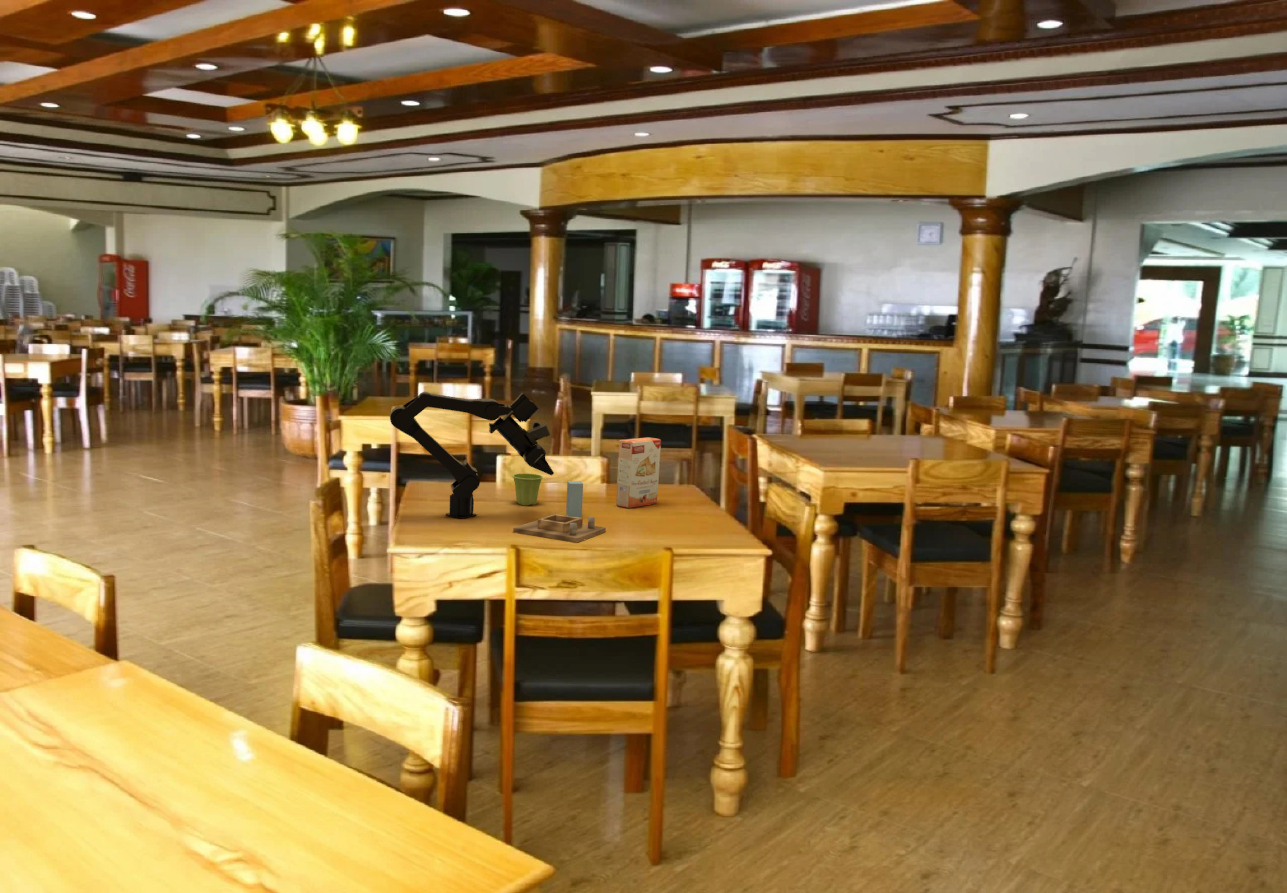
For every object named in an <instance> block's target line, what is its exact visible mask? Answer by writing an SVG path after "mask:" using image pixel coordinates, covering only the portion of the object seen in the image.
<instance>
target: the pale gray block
mask: <svg viewBox="0 0 1287 893" xmlns="http://www.w3.org/2000/svg"><path fill="white" fill-rule="evenodd" d="M566 482H567V483H566V506H565V508H566V509H565V511H566V512H565V514H566V515H565V516H571V517H577V518H583V499H584V498H583V497H584V495H583V494H584V483H583V482H582V481H581V480H567V481H566Z"/></svg>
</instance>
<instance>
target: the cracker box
mask: <svg viewBox="0 0 1287 893" xmlns="http://www.w3.org/2000/svg"><path fill="white" fill-rule="evenodd" d="M661 448H662V440H661V439H660V438H655V437H648V436H647V437H640V438H627V439H620V440H619V447H618V450H619V451H618V467H617V480H616V481H617V482H616V484H617V485H616V497H615V498H616V501H615V502H616V503H615V506H618V507H621V508H626V509H633V508H637V507H645V506H648V505H654V504H657V503H658V492H659V479H660V478H659V476H660V461H661V450H662V449H661Z"/></svg>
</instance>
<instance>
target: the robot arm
mask: <svg viewBox="0 0 1287 893" xmlns="http://www.w3.org/2000/svg"><path fill="white" fill-rule="evenodd" d="M427 408H433V409H434V408H435V409H441V410H446V411H452V412H453V411H454V412H459V413H467V414H470V415H472V416H475V417H478V418H481V419H482V420H487V421H490V422H489V423H488V426H489V427H488V428H489V429H488V432H489V433H490V434H492V435H493V433H494V432H495V431H497V433H499V434H500V435H501V437H502V438H504V440H505V441H506V442H508V444H509V445H510V446H511V447H512V448H513V449H514V450H515V451H516V453H518V454H519V455H520V457H521V458H523V461H524V462H525V464H527V465H528V466H529V467H530V468H533V469H536V470H537V471H540V472H543V473H545V474H547V475H549V476H553V475H554V474H555V472H554V471H553V468H552V467H551V465H550V464H549V462H548V461H547V459H546V455H547V452H546V450H545V449H544V448H543V447H542V446H541V445H540V444H538V442H537V441H539V440H541V439H543V438H545V437H549V436H551V433H550V430H549V428H548V426H547V424H546V423H539V422H538V421H536V422H533V423H532V425H531V428H530V429H529V430H526V429H525V428H523V427H522V426H521V425H520V424H519V423H521V422H524V423H527V422H528V421H529V420H530V419H531V418H532V417H533V416H534V415H535V414H536V413H537V412H538V411H539V410H540V408H539V407H538V406H537V404H535V403H534V401H532V400H531V399H530V398H528V397H527V396H526V394H524V393H523V392H522V393H520V394H519V395H518V397H517V398H515V399H514V401H513V402H512V403H511V404H507V403H506V404H504V403H499V402H498V401H497V400H495V399H493V398H472V399H471V398H470V399H469V398H468V399H467V398H464V397H463V398H462V397H455V396H450V395H444V394H443V395H442V394H437V393H430V392H428V391H422V392H420V393H419V394H418V395H417V396H416V397H414V398H412V399H410V400H409V401H408V402H406V403H405V404H403V405H397V406H395V407H394V408H392V409H391V411H390V414H389V420H390V423H391V425H392V426H393V428H396V429H397V430H398V431H400V432H402V433H404V434H405V435H407V436H409V437H410V438H413V439H414V440H415V441H416V442H417V443H418V444H419V445H420V446H421V447H423V449H424V450H426V452H428V453H429V454H430V455H431V457H434V459H435V460H437V462H438V463H440V464H441V465H442V466H443V467H444V468H445V469H446V470H447V471H448V472H449V473H450V474H451V476H452V477H453V478H454V479H455V481H454V482H452V483H451V484H450V488H451V491H452V493H451V494H450V495H449V512H447V513H446V512H445V516H447V517H452V518H456V519H459V520H460V519H468V518H472V517H476V516H477V515H478V514H477V513H474V505H475V504H474V503H475V502H474V500H475V499H474V492H475V491H476V490H477V489H478V488H479V487H480V483H481V479H480V477H479V474H478V471H477V468H476V467H473V466H472V465H471V464H470V463H469V461H467V459H464V461H463V462H462V461H460V460H458V459H457V458H455V457H454V456H453V455H452V454H451V453H450V452H449V451H448V450H447V449H446V448H445V447H444V446H443V445H441V444H440V443H439V442H438V441H437V440H436V439H434V437H433V436H432V435H430V434H429V432H427V431H426V430H425V429H424V428H423V427H422V426H421V425H420V423H419V422H418V420H416V416H418V415H419V414H420V413H422V412H423V411H424V410H426V409H427ZM502 416H504V417H502ZM512 416H513V417H514V418H515V419H516V420H517V421H518V422H519V423H518V422H517V421H516V420H515V419H514V418H513V417H512ZM491 421H492V422H491ZM493 421H494V422H493Z"/></svg>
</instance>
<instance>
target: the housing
mask: <svg viewBox="0 0 1287 893" xmlns="http://www.w3.org/2000/svg"><path fill="white" fill-rule="evenodd" d="M583 520H584V519H583V517H571V516H567V515H563V514H556V513H554V514H551V515H548V516H547V515H546V516H544V517H541V518H538V519H536V520H534V521H530V522H528V523H525V524H521V525H518V526H515V527H513V528H512V529H513V530H512V532H513V533H515V534H516V533H517V534H522V535H527V534H529V536H535V537H541V538H547V539H553V540H557V541H565V542H570V543H576V542H578V543H579V542H582V540H583V541H585V540H584V539H586V540H588V539H590V538H593V537H596V536H599V535H601V534H603V533H606V532H607V531H606V530H607V528H606V527H604V526H597V525H595V522H596V517H595V516H588V519H587V524H585V523H584V522H583Z"/></svg>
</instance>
